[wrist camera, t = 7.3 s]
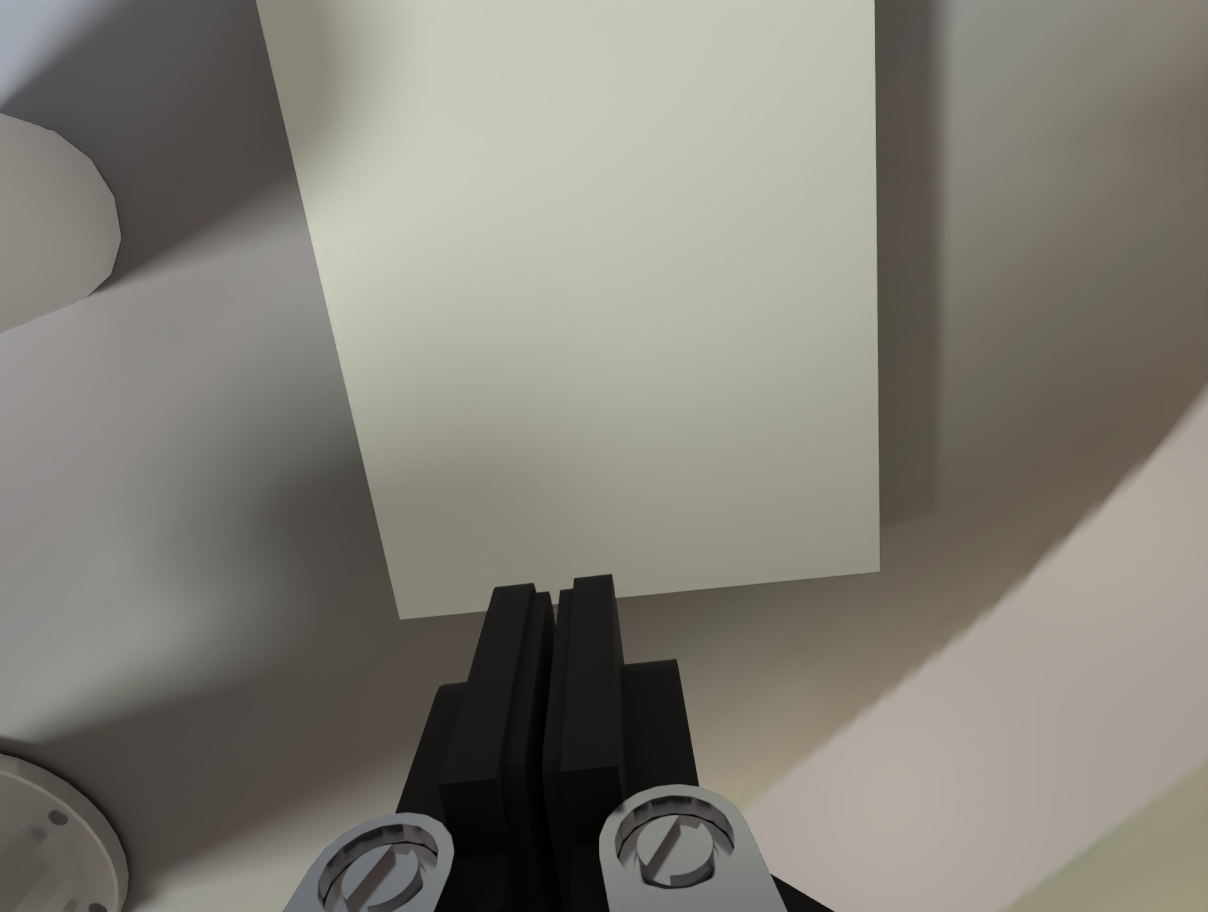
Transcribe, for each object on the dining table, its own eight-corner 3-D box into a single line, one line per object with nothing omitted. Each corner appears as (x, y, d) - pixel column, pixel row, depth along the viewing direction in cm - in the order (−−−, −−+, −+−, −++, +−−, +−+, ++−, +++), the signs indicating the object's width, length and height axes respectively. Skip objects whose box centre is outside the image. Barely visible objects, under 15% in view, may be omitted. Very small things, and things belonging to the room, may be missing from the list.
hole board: (855, 537, 31) (879, 571, 28) (419, 582, 32) (400, 619, 29) (836, -430, 21) (869, -528, 19) (219, -326, 22) (162, -403, 20)
